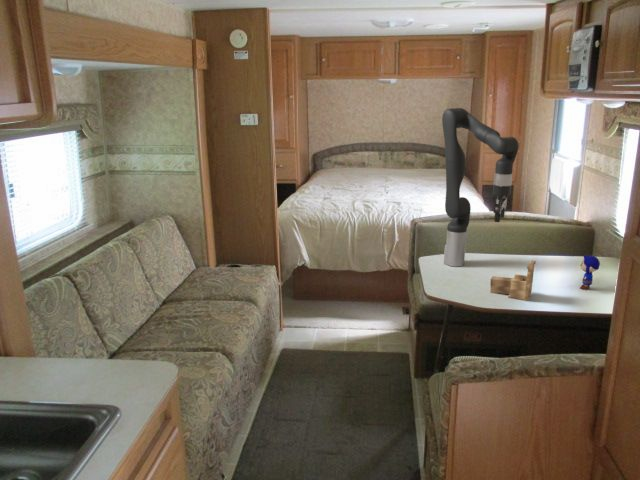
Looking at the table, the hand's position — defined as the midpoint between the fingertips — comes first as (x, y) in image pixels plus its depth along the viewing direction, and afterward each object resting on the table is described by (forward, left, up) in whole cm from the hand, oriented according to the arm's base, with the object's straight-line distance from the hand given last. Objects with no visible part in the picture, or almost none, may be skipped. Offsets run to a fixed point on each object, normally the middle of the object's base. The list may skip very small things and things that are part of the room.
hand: (499, 219), depth 242 cm
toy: (+38, +8, -28) cm, 48 cm away
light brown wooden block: (+9, -15, -28) cm, 33 cm away
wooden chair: (+14, -15, -28) cm, 35 cm away
